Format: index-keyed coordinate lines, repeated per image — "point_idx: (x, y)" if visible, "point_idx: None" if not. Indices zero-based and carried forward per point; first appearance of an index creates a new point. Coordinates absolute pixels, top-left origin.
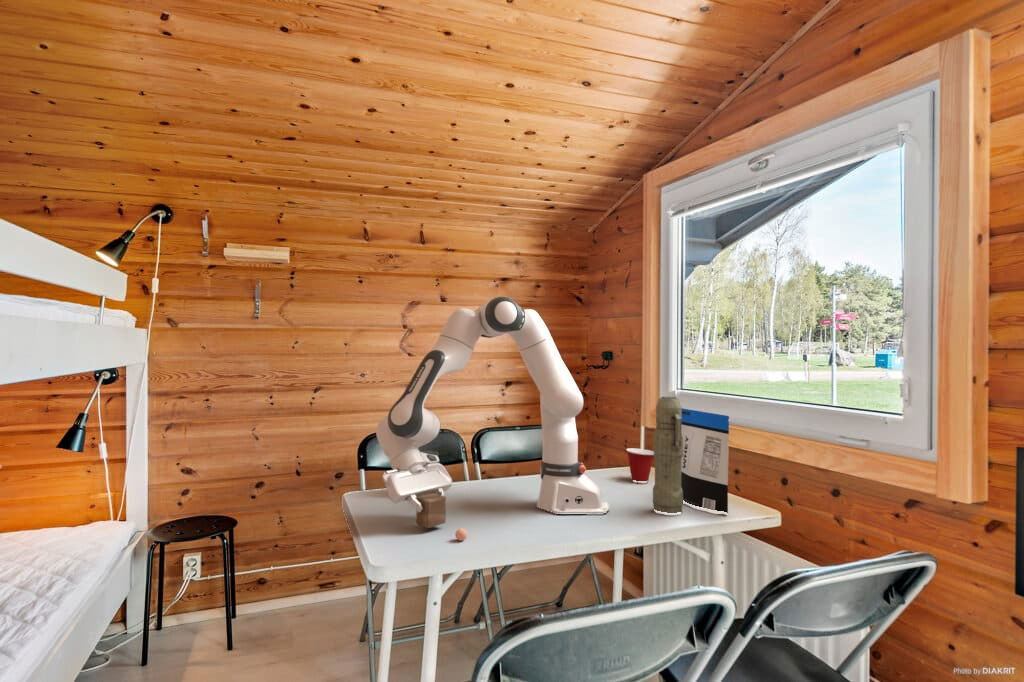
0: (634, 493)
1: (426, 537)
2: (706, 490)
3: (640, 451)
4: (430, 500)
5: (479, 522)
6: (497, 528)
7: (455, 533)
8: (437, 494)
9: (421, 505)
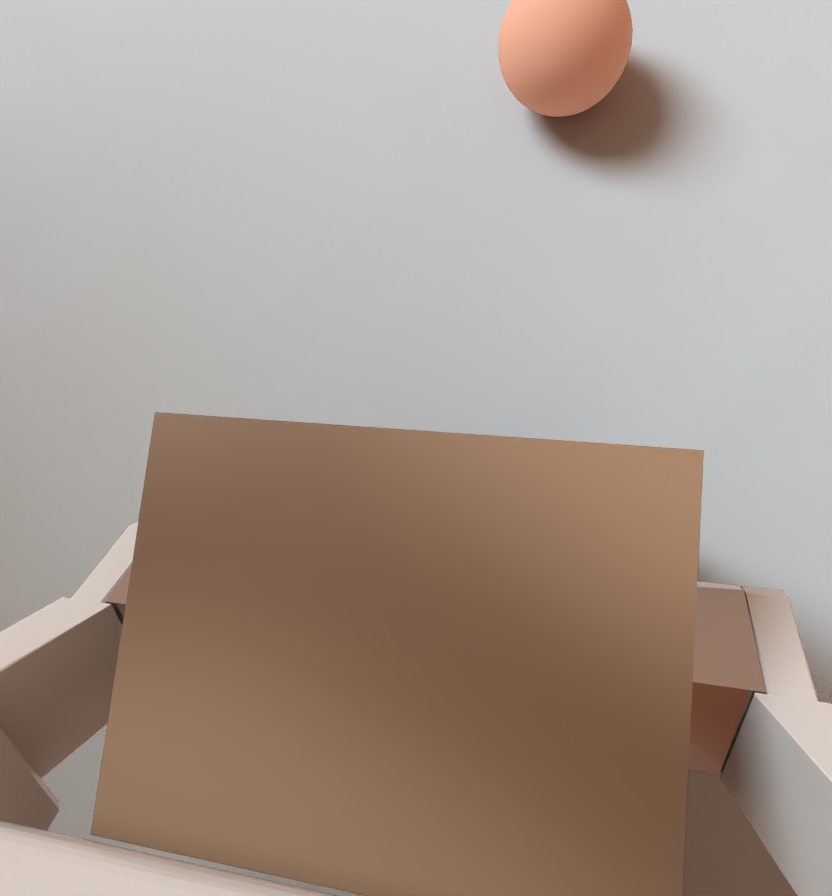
0: None
1: (734, 424)
2: None
3: None
4: (635, 446)
5: (22, 344)
6: (84, 103)
7: (614, 67)
8: (117, 693)
9: (743, 634)
